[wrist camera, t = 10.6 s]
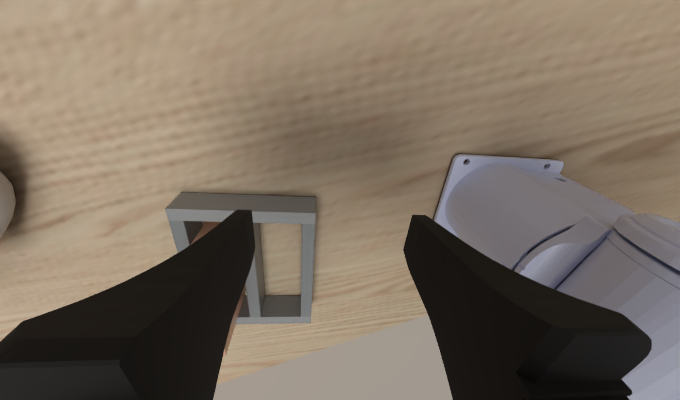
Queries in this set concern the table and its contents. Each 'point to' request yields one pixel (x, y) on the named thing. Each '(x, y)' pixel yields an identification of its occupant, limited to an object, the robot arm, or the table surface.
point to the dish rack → (265, 209)
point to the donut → (6, 203)
